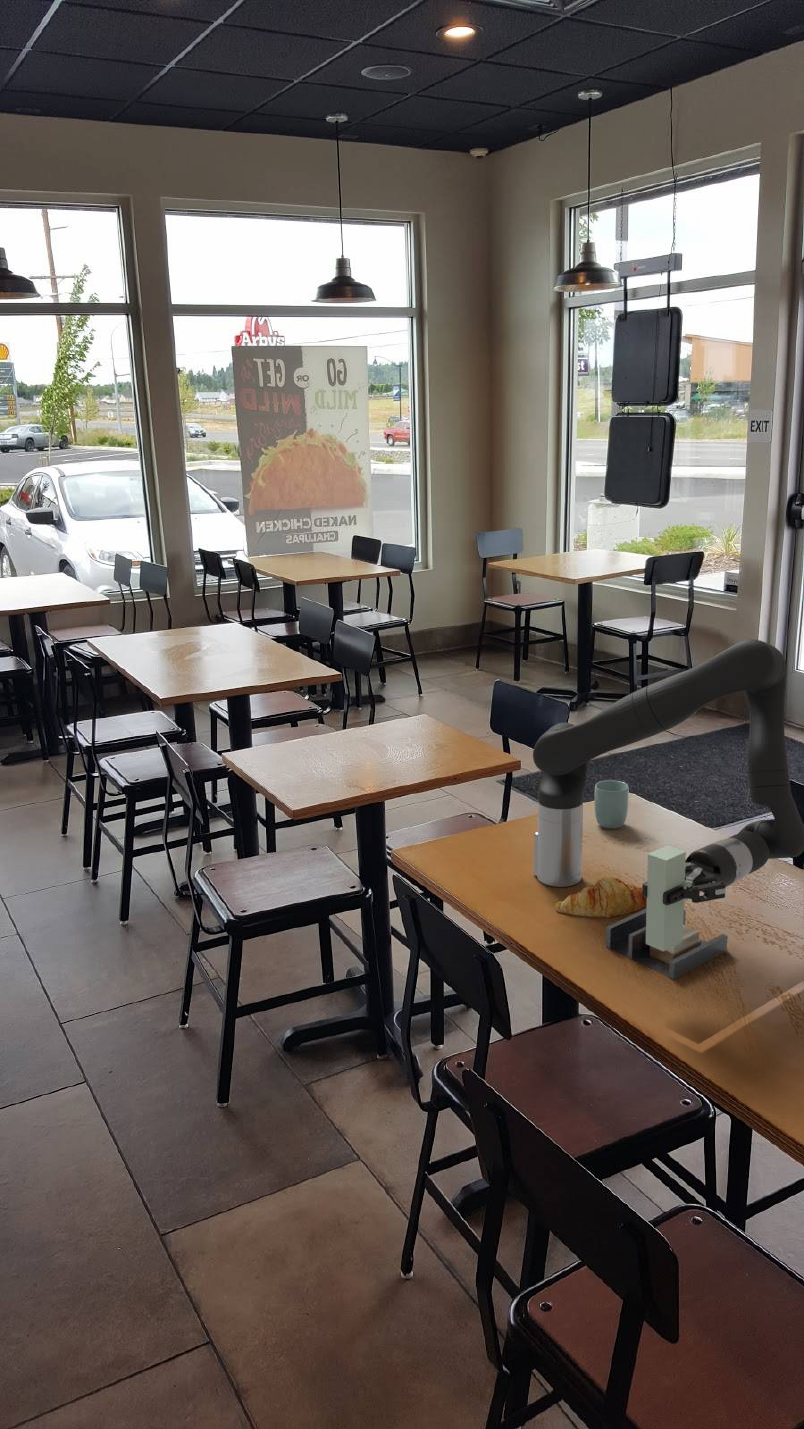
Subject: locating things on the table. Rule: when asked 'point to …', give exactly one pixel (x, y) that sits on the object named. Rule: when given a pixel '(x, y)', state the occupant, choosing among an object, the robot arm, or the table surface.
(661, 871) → the tall mint green block
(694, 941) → the offcut upper
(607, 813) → the cup
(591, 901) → the croissant
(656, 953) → the offcut lower
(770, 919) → the table surface
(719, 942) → the rack
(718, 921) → the table surface
